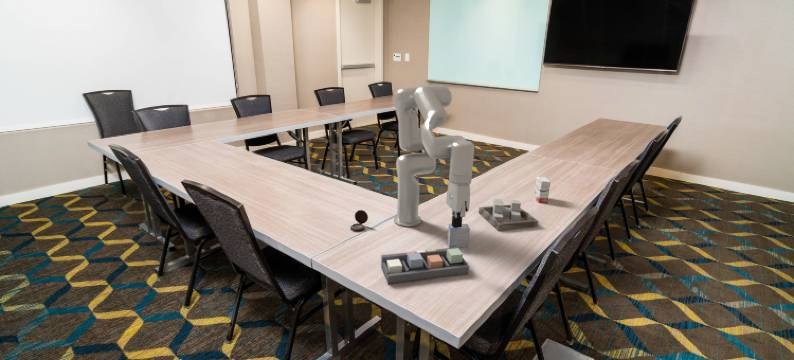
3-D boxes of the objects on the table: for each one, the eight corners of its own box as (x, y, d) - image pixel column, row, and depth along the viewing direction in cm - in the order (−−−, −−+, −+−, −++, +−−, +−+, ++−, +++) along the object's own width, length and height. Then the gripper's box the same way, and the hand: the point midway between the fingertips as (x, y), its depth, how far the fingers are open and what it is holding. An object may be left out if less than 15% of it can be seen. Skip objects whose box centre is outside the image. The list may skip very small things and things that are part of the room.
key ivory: (386, 268, 143) (386, 260, 142) (398, 266, 144) (398, 259, 143) (389, 274, 139) (389, 266, 138) (401, 273, 140) (402, 265, 139)
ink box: (547, 203, 208) (551, 181, 204) (538, 203, 208) (541, 181, 204) (542, 197, 216) (545, 176, 212) (533, 196, 216) (536, 176, 212)
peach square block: (426, 263, 146) (427, 255, 145) (438, 262, 147) (438, 254, 146) (430, 269, 142) (431, 262, 141) (442, 268, 143) (442, 260, 142)
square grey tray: (478, 213, 194) (479, 207, 193) (515, 209, 198) (515, 204, 197) (497, 231, 176) (498, 224, 175) (537, 227, 181) (538, 220, 180)
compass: (347, 230, 173) (347, 215, 171) (356, 223, 180) (355, 208, 178) (364, 233, 171) (364, 218, 168) (372, 226, 178) (372, 211, 175)
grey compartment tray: (381, 267, 146) (381, 254, 144) (456, 258, 153) (457, 246, 151) (387, 284, 136) (388, 270, 134) (468, 274, 143) (469, 261, 141)
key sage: (446, 257, 147) (446, 249, 146) (457, 255, 149) (458, 248, 147) (450, 263, 143) (451, 255, 142) (462, 262, 144) (462, 254, 143)
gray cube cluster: (493, 224, 183) (495, 208, 180) (492, 213, 194) (493, 198, 191) (520, 226, 181) (523, 210, 178) (517, 215, 192) (519, 200, 189)
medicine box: (466, 242, 165) (468, 223, 162) (468, 247, 161) (470, 228, 158) (447, 242, 165) (448, 223, 162) (448, 247, 161) (450, 228, 158)
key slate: (407, 261, 144) (407, 253, 143) (418, 260, 145) (419, 252, 144) (410, 268, 140) (410, 260, 139) (422, 266, 141) (422, 258, 140)
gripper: (442, 171, 141) (439, 218, 147) (458, 185, 128) (454, 237, 134) (462, 170, 143) (458, 217, 149) (480, 184, 129) (475, 235, 135)
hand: (456, 226), depth 141 cm, fingers closed
